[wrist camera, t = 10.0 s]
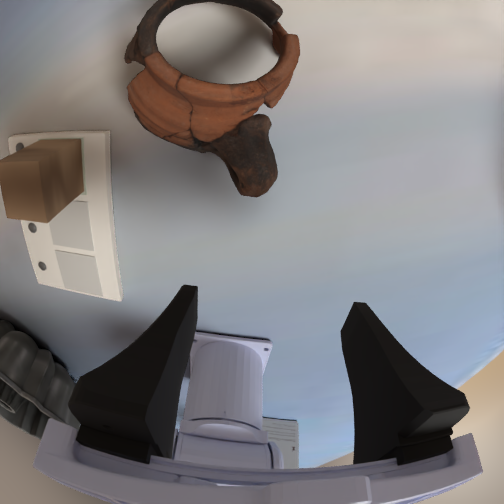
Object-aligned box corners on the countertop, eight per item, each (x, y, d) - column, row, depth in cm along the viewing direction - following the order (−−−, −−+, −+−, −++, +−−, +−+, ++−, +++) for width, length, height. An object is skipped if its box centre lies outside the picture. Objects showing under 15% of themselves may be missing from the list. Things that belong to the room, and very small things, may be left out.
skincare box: (298, 420, 39) (303, 510, 27) (283, 433, 42) (285, 515, 30) (244, 413, 38) (240, 510, 25) (233, 427, 41) (228, 513, 29)
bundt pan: (-35, 262, 25) (-76, 310, 17) (117, 371, 34) (96, 437, 25) (-24, 344, 36) (-45, 380, 28) (80, 415, 45) (67, 456, 37)
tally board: (123, 295, 26) (120, 302, 25) (41, 278, 25) (37, 283, 24) (110, 130, 18) (104, 133, 17) (14, 135, 17) (7, 137, 16)
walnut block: (84, 191, 19) (47, 223, 15) (45, 188, 19) (7, 217, 15) (81, 138, 17) (38, 161, 13) (40, 139, 17) (-3, 162, 13)
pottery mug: (113, 81, 16) (87, 12, 8) (230, 29, 18) (261, -42, 10) (196, 228, 19) (213, 235, 11) (313, 160, 20) (386, 134, 13)
